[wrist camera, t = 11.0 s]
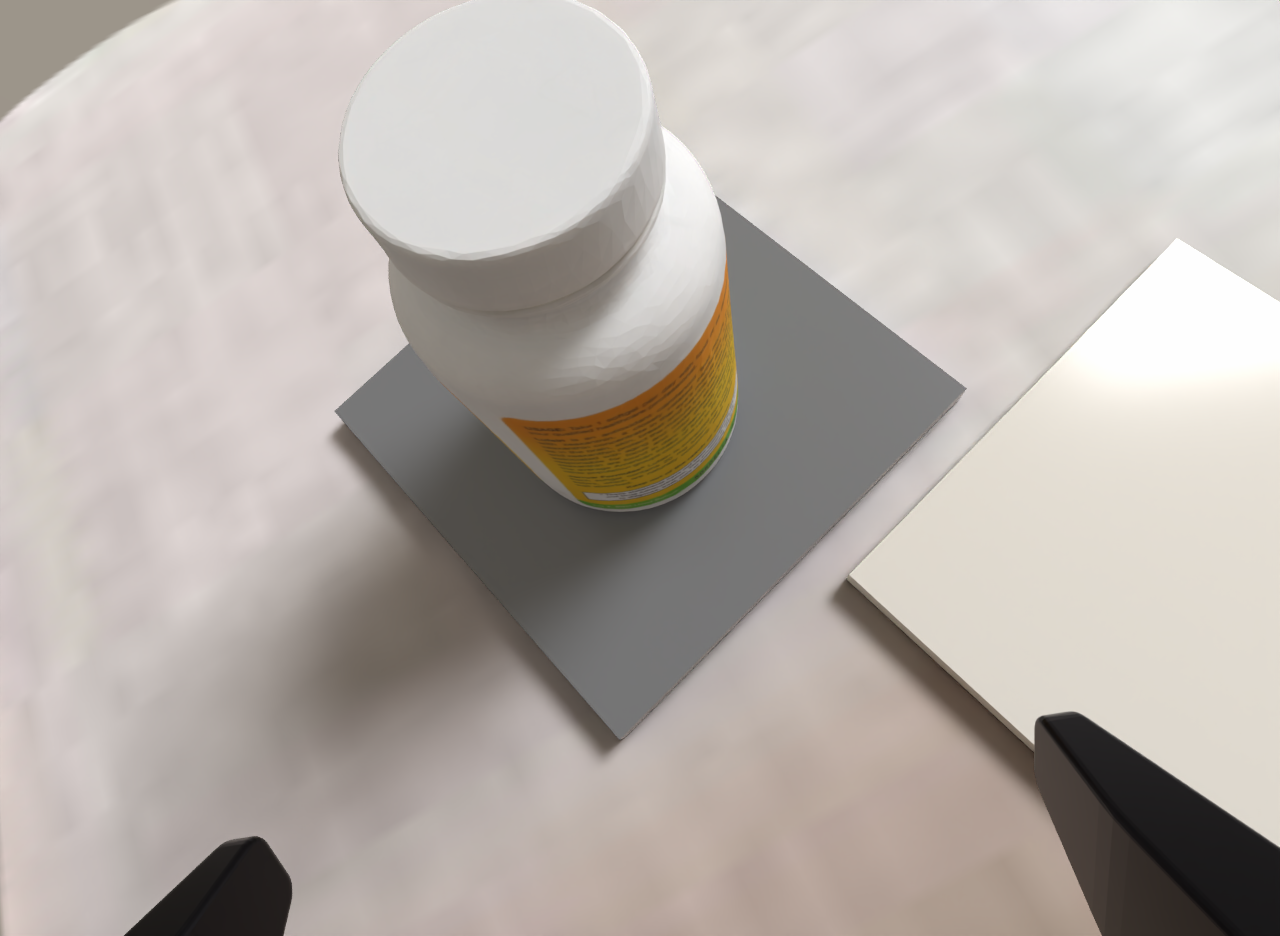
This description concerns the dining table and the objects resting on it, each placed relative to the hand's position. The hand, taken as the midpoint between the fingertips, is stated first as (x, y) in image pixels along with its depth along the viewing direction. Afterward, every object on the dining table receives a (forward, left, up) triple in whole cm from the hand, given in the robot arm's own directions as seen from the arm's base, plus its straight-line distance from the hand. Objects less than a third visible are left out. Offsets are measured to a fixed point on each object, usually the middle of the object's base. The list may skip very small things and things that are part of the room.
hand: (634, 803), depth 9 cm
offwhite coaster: (+11, -5, -8) cm, 14 cm away
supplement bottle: (+4, +7, -8) cm, 11 cm away
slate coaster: (+5, +7, -8) cm, 12 cm away
